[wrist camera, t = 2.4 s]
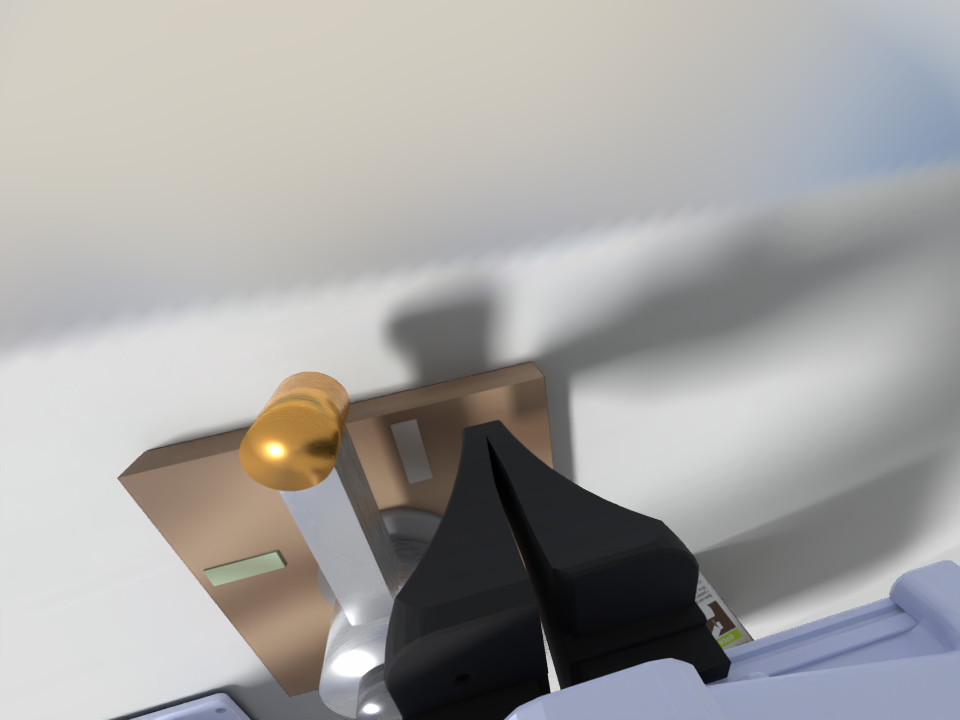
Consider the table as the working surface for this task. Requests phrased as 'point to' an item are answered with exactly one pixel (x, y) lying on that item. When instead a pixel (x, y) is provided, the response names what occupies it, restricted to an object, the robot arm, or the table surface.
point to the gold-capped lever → (335, 533)
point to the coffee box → (720, 617)
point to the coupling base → (275, 535)
